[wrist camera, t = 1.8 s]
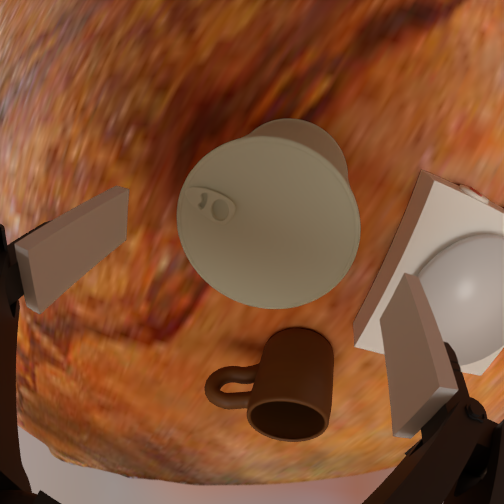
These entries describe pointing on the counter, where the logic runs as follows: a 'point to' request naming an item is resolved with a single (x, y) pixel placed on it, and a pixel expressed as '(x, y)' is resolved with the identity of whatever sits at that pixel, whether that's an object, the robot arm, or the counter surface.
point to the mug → (283, 386)
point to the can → (271, 216)
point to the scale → (446, 271)
